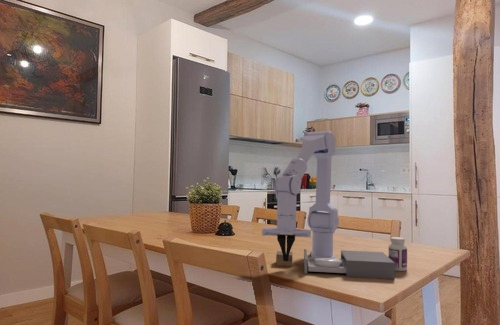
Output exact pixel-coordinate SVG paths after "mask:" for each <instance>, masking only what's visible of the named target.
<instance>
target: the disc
mask: <svg viewBox="0 0 500 325" xmlns="http://www.w3.org/2000/svg"><path fill="white" fill-rule="evenodd" d="M338 259H339V258H335V259H329V258H316V259H315V263H314V265H317V266H323V267H342V260H338Z"/></svg>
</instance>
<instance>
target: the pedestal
mask: <svg viewBox="0 0 500 325" xmlns="http://www.w3.org/2000/svg"><path fill="white" fill-rule="evenodd" d="M275 266H277V267H278V266H280V267H293V251H290V253H289V257H288V261H283V254H282V250H277V251H276V254H275Z"/></svg>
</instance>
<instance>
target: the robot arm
mask: <svg viewBox="0 0 500 325" xmlns="http://www.w3.org/2000/svg"><path fill="white" fill-rule="evenodd" d="M301 139H302V142H301V143H302V146H301V148H300V150H299V153H298V155H297V156H296V157H295V158H292V159H291V160H290V162H289V164H288V165H287V166H286V168H285V170H284V171H283V173H282V174H280V175H278V176H277V177H276V178H275V180H274V183H273V190H274V192H275V199H276V200H277V203H276V204H277V207H276V208H277V210H276V228H274V227H271V228H270V227H268V228H266V227H265V228H264V227H263V228H262V229H261V236H262V237H263V236H275V237H276V239H277V242H278V244H279V246H280V251H282V254H283V261H288V257H289V253H290V252H291V251H292V247H293V245H294V242H295V241H296V238H297V237H300V238H312V240H311V241H312V243H311V244H312V245H311V247H312V248H311V249H312V250H310V255H311V256H310V257H314V258H335V259H336V256H335V255H334V233H335V232H336V231H337V229H338V227H339V226H340V225H339V223H340V221H339V220H340V218H339V213H338V212H339V211H338V209H337V207H335V206H334V205H333V204H332V203H331V189H332V188H331V186H332V185H331V184H332V181H331V180H332V157H333V156H334V155H336V136H335V135H334V133H333V132H332V130H327V131H325V130H324V131H311V132H309V131H307V132H305V133H304V135H303V136H302V138H301ZM312 156H314V157H315V159H316V177H315V178H316V179H315V180H316V182H315V184H316V186H315V203H313V205H311V206H310V207H309V210H308V215H307V218H306V219H307V221H306V222H307V224H308V225H307V226H308V227H309V229H302V228H301V229H300V228H297V195H298V194H299V192H300V191H301V188H302V187H301V186H302V181H303V180H302V179H303V177H304V175H305V174H306V172H307V170H308V164H307V163H308V162H309V160H310V159H311V157H312Z"/></svg>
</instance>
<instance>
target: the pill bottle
mask: <svg viewBox="0 0 500 325" xmlns="http://www.w3.org/2000/svg"><path fill="white" fill-rule="evenodd" d="M390 242H391V243H389V245H388V257H389V258H390V259H391V260H392V261H393V262H394V263H395V271H396V272H405V271H407V270H408V247H407V245H406V244H405V242H406V239H405V238H404V237H400V236H399V237H398V236H392V237H390Z"/></svg>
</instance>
